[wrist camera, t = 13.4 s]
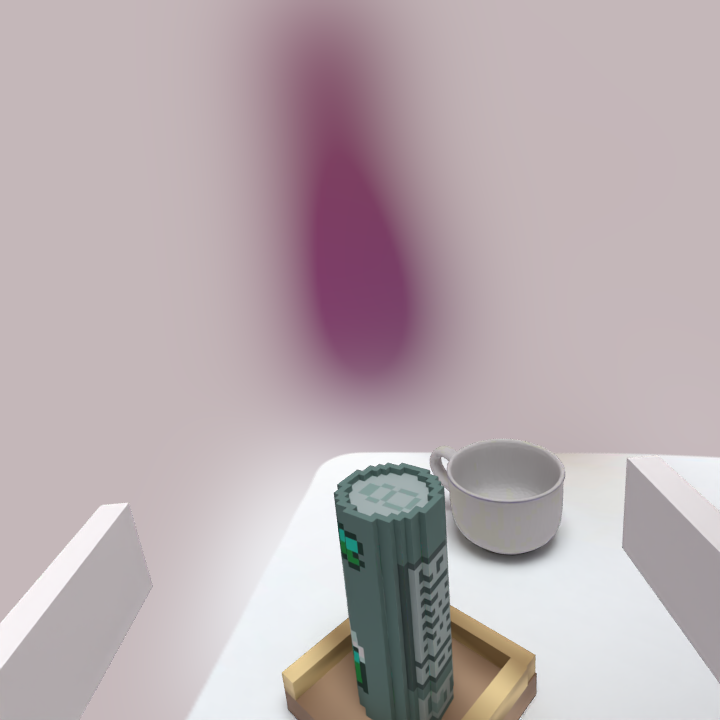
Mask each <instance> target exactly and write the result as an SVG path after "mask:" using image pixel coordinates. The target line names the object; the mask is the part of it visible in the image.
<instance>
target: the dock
mask: <svg viewBox="0 0 720 720" xmlns="http://www.w3.org/2000/svg"><path fill="white" fill-rule="evenodd" d="M450 618H451V638H452V658H453V679H454V686H453V694H454V698H453V700H452V702H451V703H450V705H449V707H448V708H447V710H446V712H445V713H444V715H443V717H442V718H441V720H518V719H519V718H520V716H521V715H522V714H523V712H524V711H525V709H526V708H527V706H528V705H529V704H530V702H531V701H532V699H533V698H534V696H535V695H536V678H537V673H535V655H534V654H533V653H531V652H529V651H528V650H526V649H524V648H523V647H521V646H519V645H517V644H516V643H514V642H512V641H511V640H509V639H507V638H505V637H504V636H502V635H500V634H499V633H497V632H495V631H494V630H492V629H490V628H488V627H487V626H485V625H483V624H482V623H480V622H478V621H476V620H475V619H473V618H471V617H470V616H468V615H466V614H465V613H463V612H461V611H459V610H458V609H456V608H454V607H453V606H451V605H450ZM282 677H283V682H284V688H285V694H286V699H287V705H288V710H289V711H290V712H291V713H292V714H293V715H294V716H295V717H296V718H297V719H298V720H372V719H370V718H369V717H367V716H366V709H365V707H363V706H362V705H360V700H359V694H358V688H357V679H356V671H355V663H354V655H353V647H352V638H351V630H350V622H349V618H347V619H346V620H345V621H344V622H343V623H341V624H340V625H339V626H338V627H337V628H335V629H334V630H333V631H332V632H331V633H329V634H328V635H327V636H326V637H324V638H323V639H322V640H321V641H320V642H318V643H317V644H316V645H315V646H314V647H312V648H311V649H310V650H309V651H308V652H306V653H305V654H304V655H303V656H301V657H300V658H299V659H298V660H297V661H295V662H294V663H293V664H292V665H291V666H289V667H288V668H287V669H286V670H285V671H283V672H282Z"/></svg>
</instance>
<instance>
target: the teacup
mask: <svg viewBox="0 0 720 720" xmlns="http://www.w3.org/2000/svg"><path fill="white" fill-rule="evenodd" d="M441 457H444V458H446V459H447V460H448V461H449V462H448V464H447V471H446V470H445V468H444V466H443V465H442V462H441ZM430 467H431V470H432V472H433V474H434V475H435V476H438V478H439V481H441V484H442V485H443V486H444V487H445V488H446V489H447V490H448V491H449V492H450V501H451V508H452V514H453V517H454V520H455V523H456V525H457V527H458V528H459V530H460V531H461V532H462V534H463V535H464V536H465V537H466V538H467V539H469V540H470V541H471V542H473V543H474V544H476V545H478V546H480V547H482V548H484V549H487V550H489V551H492V552H495V553H499V554H509V555H512V554H520V553H525V552H528V551H532V550H534V549H537V548H539V547H541V546H543V545H544V544H546V543H547V542H548V541H549V540H550V539H551V538H552V537H553V536H554V535H555V533H556V532H557V530H558V527H559V525H560V521H561V516H562V506H563V481H564V479H565V469H564V466H563V464H562V462H561V461H560V459H559V458H558V457H557V456H556V455H555V454H554V453H552V452H550V451H549V450H547V449H546V448H544V447H542V446H539V445H537V444H534V443H530V442H526V441H520V440H515V439H490V440H483V441H479V442H476V443H472V444H470V445H468V446H466V447H463V448H462V449H460V450H458V451H456V450H454V449H453V448H451V447H449V446H441V447H438V448H436V449H435V450H434V451H433V452H432V454H431V456H430Z"/></svg>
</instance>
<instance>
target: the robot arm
mask: <svg viewBox="0 0 720 720" xmlns="http://www.w3.org/2000/svg"><path fill="white" fill-rule="evenodd" d="M622 548H623V549H624V551H625V552H626V554H627V555H628V556H629V558H630V559H631V561H632V562H633V563H634V565H635V566H636V568H637V569H638V570H639V572H640V573H641V574H642V576H643V577H644V579H645V580H646V581H647V583H648V584H649V586H650V587H651V588H652V590H653V591H654V593H655V594H656V595H657V597H658V598H659V600H660V601H661V602H662V604H663V605H664V607H665V608H666V609H667V611H668V612H669V613H670V615H671V616H672V618H673V619H674V620H675V622H676V623H677V625H678V626H679V627H680V629H681V630H682V632H683V633H684V634H685V636H686V637H687V639H688V640H689V641H690V643H691V644H692V646H693V647H694V648H695V650H696V651H697V652H698V654H699V655H700V657H701V658H702V659H703V661H704V662H705V664H706V665H707V666H708V668H709V669H710V671H711V672H712V673H713V675H714V676H715V678H716V679H717V680H718V682H719V683H720V511H719V510H718V509H717V508H716V507H715V506H713V505H712V504H711V503H710V502H709V501H708V500H707V499H706V498H705V497H703V496H702V495H701V494H700V493H699V492H698V491H697V490H696V489H695V488H694V487H692V486H691V485H690V484H689V483H688V482H687V481H686V480H685V479H684V478H682V477H681V476H680V475H679V474H678V473H677V472H676V471H675V470H674V469H673V468H671V467H670V466H669V465H668V464H667V463H666V462H665V461H664V460H663V459H661V458H660V457H659V456H658V455H652V456H641V457H630V458H627V468H626V486H625V504H624V523H623V541H622ZM152 587H153V585H152V581H151V578H150V575H149V571H148V567H147V564H146V560H145V557H144V554H143V550H142V547H141V543H140V540H139V536H138V533H137V529H136V526H135V522H134V519H133V515H132V512H131V509H130V505H129V503H120V504H108V505H101V506H100V507H99V508H98V509H97V511H96V512H95V513H94V514H93V515H92V517H91V518H90V519H89V520H88V521H87V522H86V523H85V525H84V526H83V527H82V528H81V529H80V531H79V532H78V533H77V534H76V535H75V536H74V538H73V539H72V540H71V541H70V542H69V543H68V545H67V546H66V547H65V548H64V549H63V551H62V552H61V553H60V554H59V555H58V556H57V557H56V559H55V560H54V561H53V562H52V563H51V564H50V566H49V567H48V568H47V569H46V570H45V572H44V573H43V574H42V575H41V576H40V577H39V579H38V580H37V581H36V582H35V583H34V585H33V586H32V587H31V588H30V589H29V590H28V591H27V593H26V594H25V595H24V596H23V597H22V599H21V600H20V601H19V602H18V603H17V604H16V606H15V607H14V608H13V609H12V610H11V611H10V612H9V614H8V615H7V616H6V617H5V618H4V620H3V621H2V622H1V623H0V720H80V718H81V716H82V715H83V713H84V711H85V709H86V707H87V705H88V704H89V702H90V700H91V698H92V696H93V695H94V693H95V691H96V689H97V687H98V685H99V684H100V682H101V680H102V678H103V676H104V674H105V673H106V671H107V669H108V667H109V665H110V664H111V662H112V660H113V658H114V656H115V654H116V653H117V651H118V649H119V647H120V645H121V643H122V642H123V640H124V638H125V636H126V634H127V632H128V631H129V629H130V627H131V625H132V623H133V621H134V620H135V618H136V616H137V614H138V612H139V610H140V609H141V607H142V605H143V603H144V601H145V599H146V598H147V596H148V594H149V592H150V590H151V589H152Z"/></svg>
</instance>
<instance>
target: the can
mask: <svg viewBox="0 0 720 720" xmlns="http://www.w3.org/2000/svg"><path fill="white" fill-rule="evenodd" d="M337 487H338V490H337V491H336V492H334V499H335V507H336V515H337V523H338V532H339V540H340V548H341V556H342V564H343V573H344V581H345V589H346V597H347V606H348V614H349V622H350V630H351V638H352V647H353V655H354V663H355V671H356V679H357V688H358V694H359V700H360V705H362V706H363V707H365V709H366V716H367V717H369V718H370V719H372V720H441V718H442V717H443V715H444V713H445V712H446V710H447V708H448V707H449V705H450V703H451V702H452V700H453V698H454V694H453V686H454V679H453V658H452V638H451V618H450V597H449V577H448V557H447V537H446V516H445V496H444V486H441V481H439V478H438V476H435V475H431V474H430V470H427V469H423V468H419V467H416V466H412V465H408V464H405V463H401V464H400V465H399V466H398V465H395V464H391V463H387V464H386V465H381V464H378V465H377V466H376V467H374V466H371V465H370V466H369V467H367V468H366V469H365V470H363V471H361V470H356V471H355V472H354V473H352V474H351V475H350V476H348V477H347V478H346V479H344V480H343V481H341V482H340V483H339V484H337Z"/></svg>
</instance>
